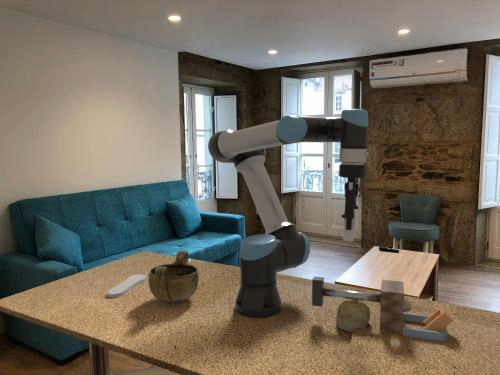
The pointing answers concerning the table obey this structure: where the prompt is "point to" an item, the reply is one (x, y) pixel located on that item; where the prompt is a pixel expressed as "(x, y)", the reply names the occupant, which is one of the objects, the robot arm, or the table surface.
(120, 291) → the long curved white strip
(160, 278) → the ceramic bowl
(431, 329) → the spacer
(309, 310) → the table surface
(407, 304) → the sea urchin shell
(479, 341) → the table surface
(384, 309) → the block
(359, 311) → the decorative item
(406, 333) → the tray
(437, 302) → the table surface
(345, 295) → the shaft
